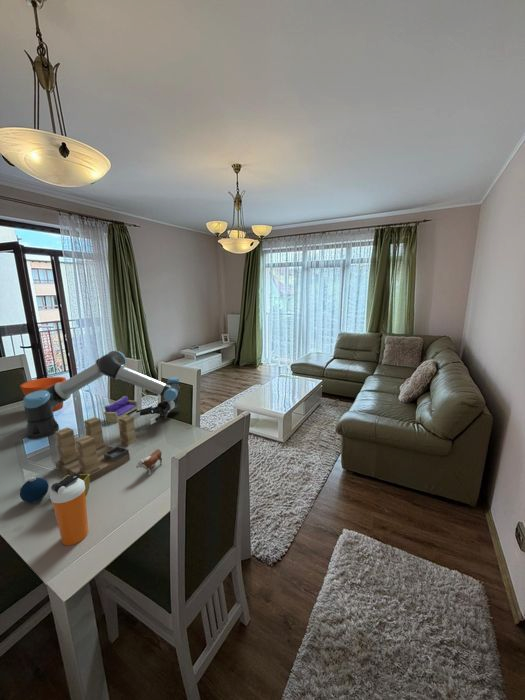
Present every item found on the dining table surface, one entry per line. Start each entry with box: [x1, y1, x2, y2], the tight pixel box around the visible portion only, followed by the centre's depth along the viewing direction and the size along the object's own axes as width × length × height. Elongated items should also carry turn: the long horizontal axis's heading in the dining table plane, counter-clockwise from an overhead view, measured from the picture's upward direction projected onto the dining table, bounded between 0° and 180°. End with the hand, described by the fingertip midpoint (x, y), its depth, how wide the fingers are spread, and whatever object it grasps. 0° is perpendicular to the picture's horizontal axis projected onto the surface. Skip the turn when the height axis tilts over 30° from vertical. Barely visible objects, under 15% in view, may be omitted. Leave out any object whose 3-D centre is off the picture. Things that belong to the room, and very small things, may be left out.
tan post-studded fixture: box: [54, 416, 131, 483], centre depth 127 cm, size 24×20×17 cm
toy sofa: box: [103, 395, 139, 424], centre depth 180 cm, size 21×9×10 cm, turn 167°
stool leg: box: [118, 414, 137, 447], centre depth 146 cm, size 5×5×14 cm
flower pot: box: [60, 474, 91, 498], centre depth 103 cm, size 9×9×9 cm
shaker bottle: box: [49, 474, 89, 546], centre depth 87 cm, size 9×9×20 cm
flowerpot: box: [19, 376, 67, 413], centre depth 191 cm, size 25×25×20 cm
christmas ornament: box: [19, 475, 49, 503], centre depth 105 cm, size 8×8×10 cm
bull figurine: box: [135, 449, 163, 477], centre depth 122 cm, size 4×13×8 cm, turn 158°
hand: (140, 420), depth 154 cm, fingers open, 13 cm apart
